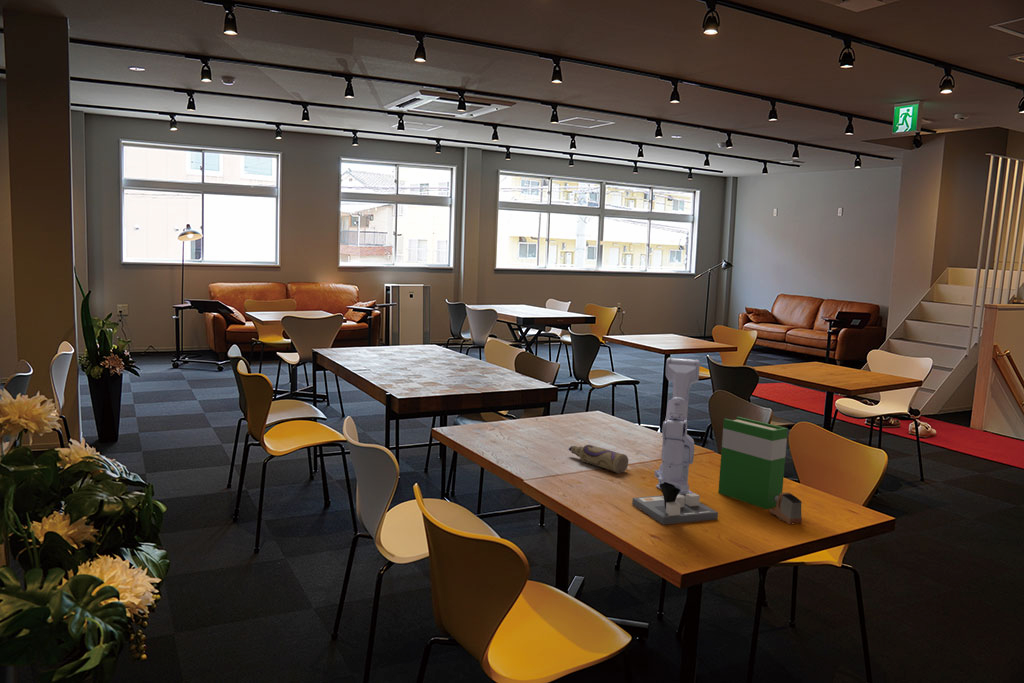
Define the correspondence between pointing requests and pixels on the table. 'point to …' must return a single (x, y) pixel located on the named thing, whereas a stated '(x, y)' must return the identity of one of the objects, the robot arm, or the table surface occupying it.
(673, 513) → the tab
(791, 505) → the electronic device
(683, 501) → the tab middle
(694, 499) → the tab
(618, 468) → the decorative bottle
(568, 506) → the table surface
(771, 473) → the hardback book
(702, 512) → the switch board
